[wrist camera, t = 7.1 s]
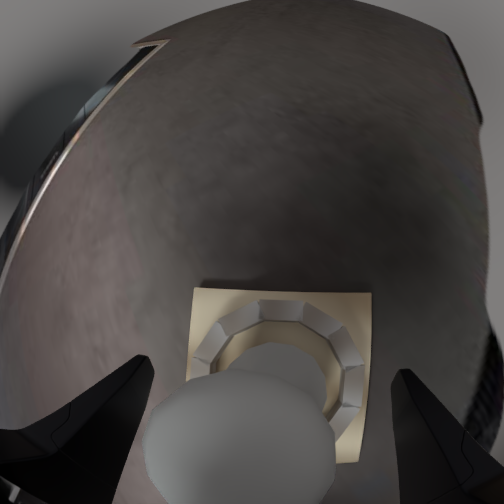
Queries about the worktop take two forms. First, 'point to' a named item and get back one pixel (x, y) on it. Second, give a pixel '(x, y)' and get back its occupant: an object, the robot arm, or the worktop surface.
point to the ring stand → (292, 333)
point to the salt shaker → (245, 433)
